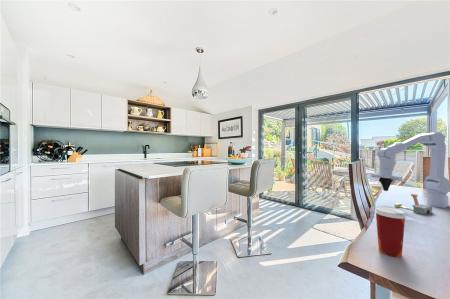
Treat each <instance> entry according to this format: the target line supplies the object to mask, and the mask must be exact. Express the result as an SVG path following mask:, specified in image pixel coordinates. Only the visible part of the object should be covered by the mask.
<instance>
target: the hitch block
mask: <svg viewBox="0 0 450 299" xmlns="http://www.w3.org/2000/svg"><path fill="white" fill-rule="evenodd" d="M413 209H414V210H413V213H415V214H418V215H419V214H420V215H424V216H425V215H427V214H432V213H433V206H430V205H428V204H419V205H416V206H414V207H413Z"/></svg>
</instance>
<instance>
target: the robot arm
mask: <svg viewBox="0 0 450 299" xmlns="http://www.w3.org/2000/svg"><path fill="white" fill-rule="evenodd" d="M417 144H421V145H423V146H426V147H428V148H429V149H430V162H429V164H430V165H429V175H427V176H425V178H424V181H423V184H422V185H423V188H424V189H425V191H426V195H427V196H426V201H427V203H426V205H427V206H432V207H437V208H447V207H449V196H448V194H449V192H450V180H449V179H448V178H447V177H445V167H446V164H445V163H446V150H447V146H446V145H447V144H446V136H445V135H444V134H443V133H441V132H440V131H439V132H438V131H435V132H427V133H419V134H416V135H414V136H413V137H411V138H409V139H407V140H405V141H403V142H399V141H397V142H393V144H391V145H387V146H386V147H385V148H380V149H379V150H378V151H377V153H376V155H377V157H378V159H379V174H378V173H377V174H376V173H371V174H370V177H371V178H377V179H378V181H379V183H380V184H381V187H382V191H384V192H388V191H389V189H390V186H391V184H392V182H394V181H400V182H401V181H403V176H396V175H393V158H394V157H395V156H396V155H397V154H401V153H402V152H405V151H406V149H407V148H409V147H411V146H414V145H417Z"/></svg>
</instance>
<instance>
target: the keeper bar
mask: <svg viewBox="0 0 450 299" xmlns="http://www.w3.org/2000/svg"><path fill="white" fill-rule="evenodd" d="M410 196H411V197H412V198H413V202H414V205H420V203H419V200H418V194H417V193H410Z"/></svg>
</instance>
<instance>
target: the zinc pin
mask: <svg viewBox="0 0 450 299" xmlns="http://www.w3.org/2000/svg"><path fill="white" fill-rule="evenodd" d="M394 208H396V209H397V208H399V209H400V208H401V209H405V210H408V211H412V212H414V207H408V206H403V205H402V203H400V202H399V203H398V202H397V203H394Z"/></svg>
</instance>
